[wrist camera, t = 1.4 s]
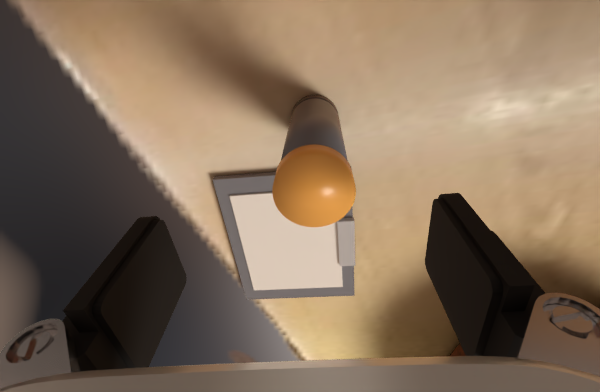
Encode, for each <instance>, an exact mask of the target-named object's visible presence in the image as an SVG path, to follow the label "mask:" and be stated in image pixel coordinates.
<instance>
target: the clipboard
mask: <svg viewBox="0 0 600 392" xmlns="http://www.w3.org/2000/svg"><path fill="white" fill-rule="evenodd" d="M350 167H351V166H350ZM275 175H276V172H267V173H253V174H240V175H227V176H215V177H214V178H213V183H214V187H215V190H216V194H217V197H218V201H219V204H220V208H221V212H222V215H223V219H224V222H225V226H226V229H227V233H228V236H229V240H230V243H231V247H232V250H233V254H234V257H235V261H236V264H237V268H238V271H239V275H240V278H241V282H242V286H243V289H244V293H245V296H246V299H272V298H299V297H326V296H353V295H354V266H355V227H354V218H353V215H352V207H351V209H350V210H349V212H348V213H347V214H346V215H345V216H344V217H343V218H341V219H340V220H339V221H337V222H335V223H333V224H330V225H327V226H323V227H305V226H301V225H298V224H296V223H293V222H291V221H290V220H288V219H287V218H286V217H284V216H283V215H282V214H281V213H280V211H279V210H278V209H277V207H276V205H275V203H274V200H273V194H272V189H273V183H274V179H275Z"/></svg>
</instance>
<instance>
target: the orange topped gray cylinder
mask: <svg viewBox="0 0 600 392" xmlns="http://www.w3.org/2000/svg"><path fill="white" fill-rule="evenodd" d="M272 194H273V200H274V203H275V205H276V207H277V209H278V210H279V211H280V213H281V214H282V215H283V216H284V217H286V218H287V219H288V220H290V221H291V222H293V223H296V224H298V225H301V226H305V227H323V226H327V225H330V224H333V223H335V222H337V221H339V220H340V219H341V218H343V217H344V216H345V215H346V214H347V213H348V212H349V210H350V209H351V207H352V205H353V203H354V200H355V195H356V188H355V183H354V178H353V174H352V170H351V167H350V165H349V163H348V160H347V155H346V151H345V146H344V141H343V136H342V131H341V126H340V121H339V116H338V112H337V109H336V107H335V105H334V104H333V103H332V102H331V101H330V100H329V99H328V98H326V97H324V96H320V95H310V96H306V97H304V98H302V99H301V100H300V101H298V103H297V104H296V105H295V107H294V108H293V111H292V115H291V119H290V124H289V128H288V132H287V137H286V141H285V145H284V150H283V154H282V159H281V162H280V163H279V165H278V168H277V171H276V175H275V179H274V183H273V189H272Z"/></svg>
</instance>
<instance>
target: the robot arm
mask: <svg viewBox="0 0 600 392" xmlns="http://www.w3.org/2000/svg"><path fill="white" fill-rule="evenodd" d="M425 265H426V269H427V272H428V274H429V276H430V278H431V280H432V283H433V285H434V287H435V289H436V291H437V294H438V296H439V298H440V300H441V302H442V305H443V307H444V309H445V311H446V313H447V316H448V318H449V320H450V322H451V324H452V327H453V329H454V331H455V333H456V335H457V338H458V340H459V342H460V344H461V346H462V349H463V351H464V353H465V355H466V356H438V357H396V358H367V359H337V360H309V361H285V362H258V363H233V364H211V365H210V364H209V365H190V366H189V365H187V366H165V367H149V365H150V363H151V360H152V358H153V356H154V354H155V351H156V349H157V347H158V345H159V342H160V340H161V338H162V336H163V334H164V331H165V329H166V327H167V325H168V322H169V320H170V318H171V315H172V313H173V311H174V309H175V307H176V304H177V302H178V300H179V298H180V295H181V293H182V291H183V289H184V287H185V284H186V273H185V271H184V269H183V266H182V264H181V262H180V259H179V256H178V254H177V251H176V249H175V246H174V244H173V241H172V239H171V236H170V234H169V231H168V229H167V226H166V224H165V222H164V221H163V220H160V219H159V218H158V217H157V216H151V217H140V218H138V219H137V220H136V222H135V223H134V224H133V225H132V227H131V228H130V229H129V230H128V231H127V233H126V234H125V235H124V236H123V238H122V239H121V240H120V241H119V243H118V244H117V245H116V246H115V247H114V249H113V250H112V251H111V252H110V254H109V255H108V256H107V257H106V259H105V260H104V261H103V262H102V263H101V265H100V266H99V267H98V268H97V270H96V271H95V272H94V273H93V275H92V276H91V277H90V278H89V280H88V281H87V282H86V283H85V284H84V286H83V287H82V288H81V289H80V290H79V292H78V293H77V294H76V296H75V297H74V298H73V299H72V300H71V301H70V303H69V304H68V305H67V306H66V308H65V309H64V310H63V311H64V313H65V314H66V315H67V316H66V317H65V319H64V320H63V321H61V320H59V319H48V320H43V321H40V322H38V323H36V324H33V325H31V326H30V327H28V328H26V329H24V330H23V331H21V332H20V333H18V334H17V335H16V336H15V337H13V338H12V340H10V341H9V342H8V343H7V344H6V346H5V347H4V348H3V350H2V351H1V353H0V392H600V309H599V308H597V307H595V306H594V305H592V304H591V303H589V302H587V301H585V300H583V299H581V298H578V297H576V296H572V295H569V294H565V293H556V292H553V293H545V292H544V291H543V290H542V289H541V287H540V286H539V285H538V284H537V283H536V281H535V280H534V279H533V278H532V277H531V275H530V274H529V273H528V272H527V271H526V269H525V268H524V267H523V266H522V265H521V263H520V262H519V261H518V260H517V259H516V258H515V256H514V255H513V254H512V253H511V252H510V250H509V249H508V248H507V247H506V246H505V244H504V243H503V242H502V241H501V240H500V238H499V237H498V236H497V235H496V234H495V233H494V232H493V231H490V230H489V228H488V227H487V226H486V225H485V223H484V222H483V221H482V220H481V219H480V217H479V216H478V215H477V214H476V212H475V211H474V210H473V209H472V208H471V206H470V205H469V204H468V203H467V202H466V200H465V199H464V198H463V197H462V195H461V194H459V193H452V194H441V195H439V197H438V199H434V201H433V205H432V212H431V220H430V227H429V235H428V242H427V249H426V257H425Z"/></svg>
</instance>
